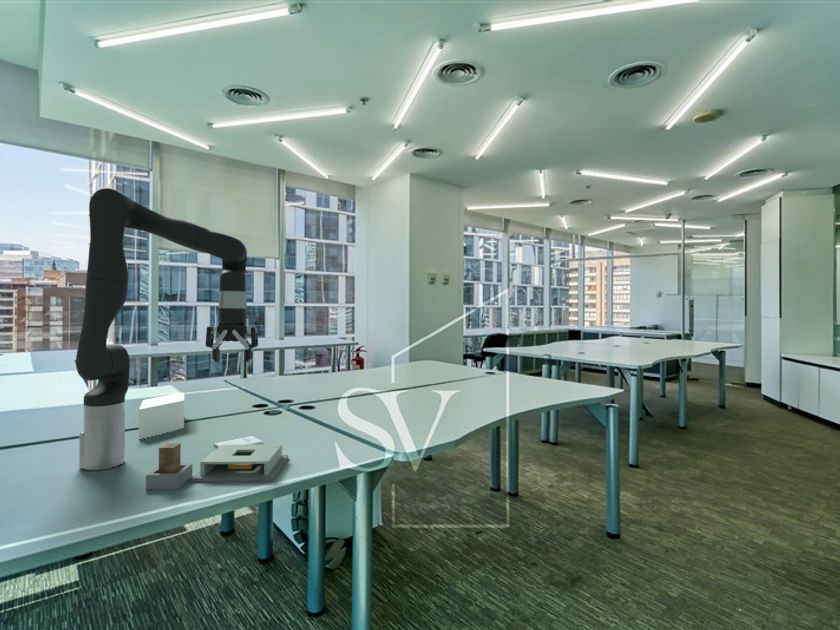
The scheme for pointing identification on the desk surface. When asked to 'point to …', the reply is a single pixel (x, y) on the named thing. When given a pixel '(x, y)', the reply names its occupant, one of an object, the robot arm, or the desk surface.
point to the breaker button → (240, 466)
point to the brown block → (169, 458)
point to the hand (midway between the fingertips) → (232, 361)
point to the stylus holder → (169, 478)
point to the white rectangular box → (161, 415)
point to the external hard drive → (241, 441)
